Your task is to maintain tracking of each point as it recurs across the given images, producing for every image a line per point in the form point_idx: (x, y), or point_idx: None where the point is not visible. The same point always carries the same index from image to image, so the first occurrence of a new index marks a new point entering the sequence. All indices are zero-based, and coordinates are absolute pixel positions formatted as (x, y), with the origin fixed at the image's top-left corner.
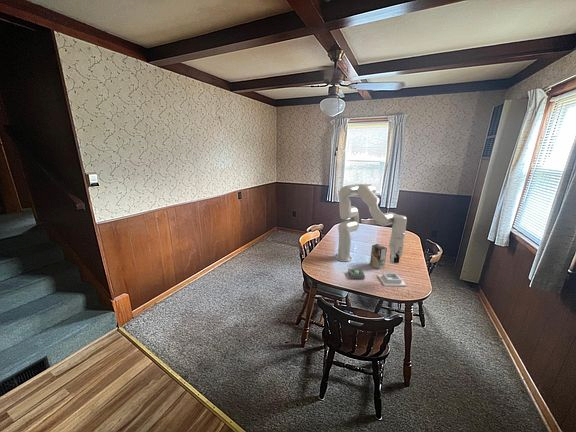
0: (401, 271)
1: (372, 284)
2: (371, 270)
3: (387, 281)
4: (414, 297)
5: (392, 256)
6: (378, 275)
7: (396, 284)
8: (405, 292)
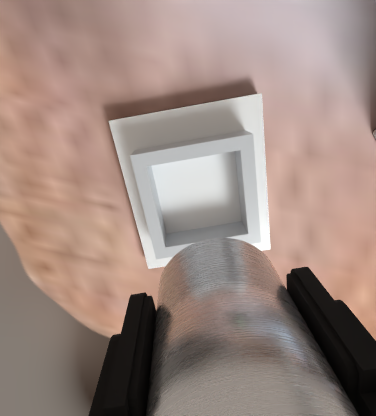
0: (336, 278)
1: (108, 15)
2: (359, 53)
3: (135, 151)
4: (38, 276)
5: (178, 365)
6: (249, 97)
7: (134, 211)
8: (75, 243)
